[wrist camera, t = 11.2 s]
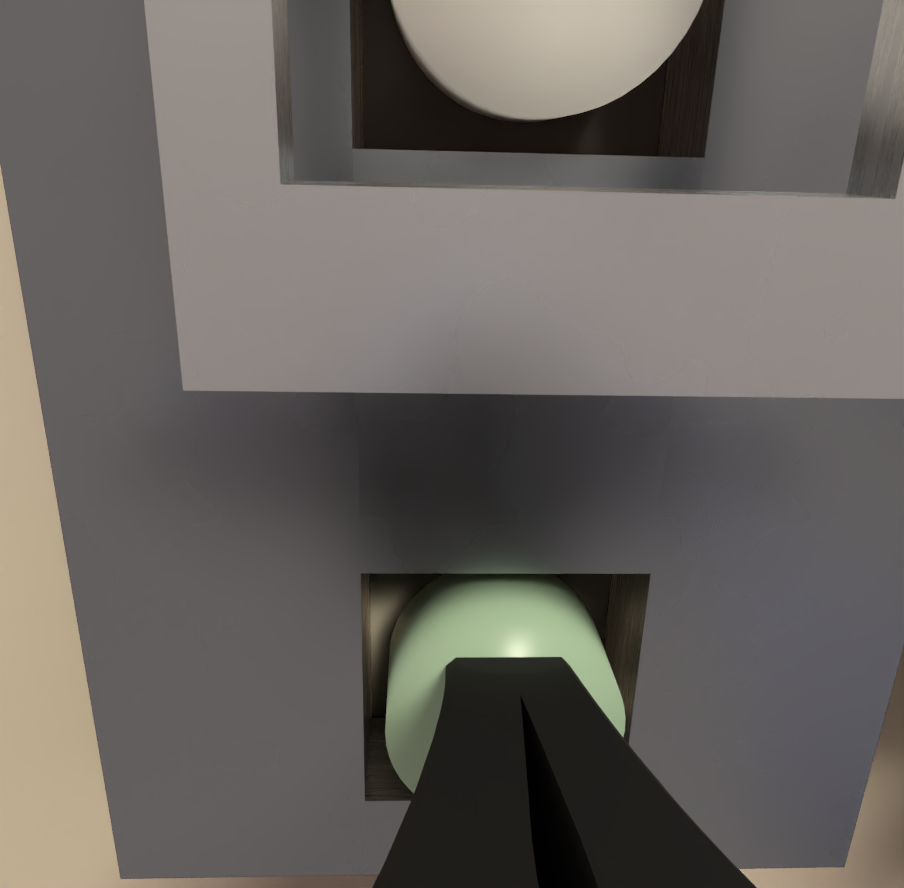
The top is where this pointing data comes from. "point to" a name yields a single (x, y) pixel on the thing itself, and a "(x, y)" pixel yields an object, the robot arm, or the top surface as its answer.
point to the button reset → (540, 50)
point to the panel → (461, 409)
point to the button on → (484, 649)
